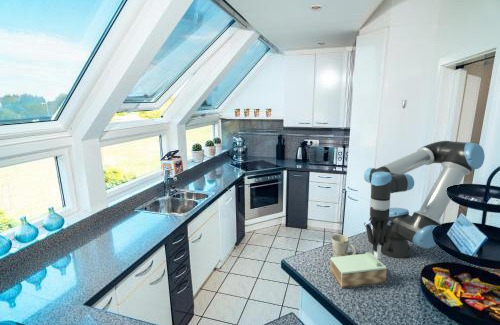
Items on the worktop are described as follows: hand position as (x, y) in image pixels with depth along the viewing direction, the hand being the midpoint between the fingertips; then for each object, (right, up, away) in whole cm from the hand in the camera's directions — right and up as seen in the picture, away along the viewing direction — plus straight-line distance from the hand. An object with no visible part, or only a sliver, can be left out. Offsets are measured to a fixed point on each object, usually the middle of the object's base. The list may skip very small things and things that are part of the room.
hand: (377, 257), depth 118 cm
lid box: (-9, -9, +1) cm, 13 cm away
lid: (-9, -3, 0) cm, 10 cm away
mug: (-9, -6, +18) cm, 21 cm away
